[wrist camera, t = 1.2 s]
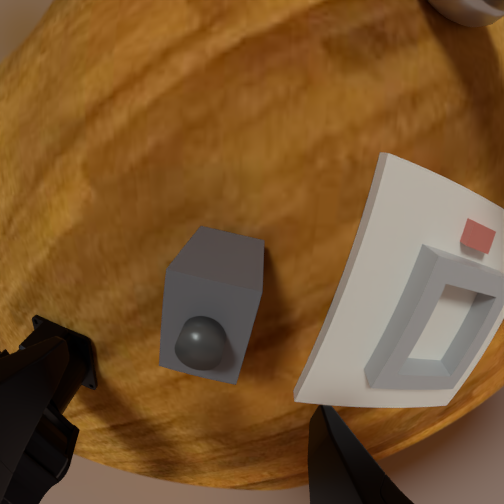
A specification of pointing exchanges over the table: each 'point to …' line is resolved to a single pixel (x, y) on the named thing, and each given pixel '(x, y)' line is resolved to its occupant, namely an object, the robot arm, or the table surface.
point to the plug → (211, 304)
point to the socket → (410, 295)
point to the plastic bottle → (470, 11)
